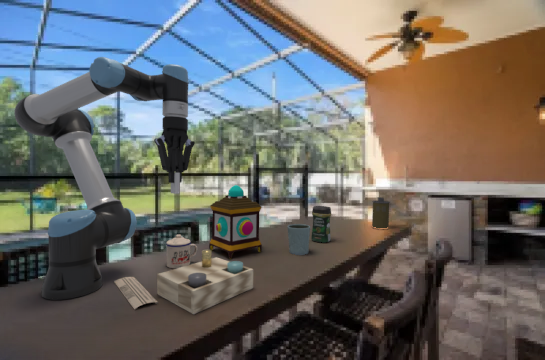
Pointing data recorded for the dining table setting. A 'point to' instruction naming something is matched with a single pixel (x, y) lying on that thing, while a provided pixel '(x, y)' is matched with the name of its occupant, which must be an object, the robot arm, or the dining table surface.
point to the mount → (201, 298)
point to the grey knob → (196, 280)
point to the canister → (380, 213)
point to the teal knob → (235, 267)
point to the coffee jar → (321, 224)
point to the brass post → (206, 258)
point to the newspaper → (134, 292)
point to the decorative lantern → (235, 223)
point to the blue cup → (298, 238)
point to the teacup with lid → (179, 252)
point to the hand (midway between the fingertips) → (175, 193)
